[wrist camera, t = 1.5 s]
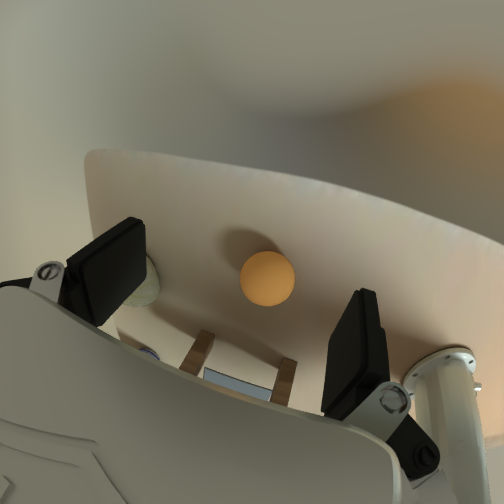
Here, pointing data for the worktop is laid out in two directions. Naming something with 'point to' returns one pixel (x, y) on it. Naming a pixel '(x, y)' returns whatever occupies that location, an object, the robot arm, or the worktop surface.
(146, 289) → the sea urchin shell
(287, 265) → the ball
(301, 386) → the worktop surface
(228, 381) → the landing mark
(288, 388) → the bridge
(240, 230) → the worktop surface
